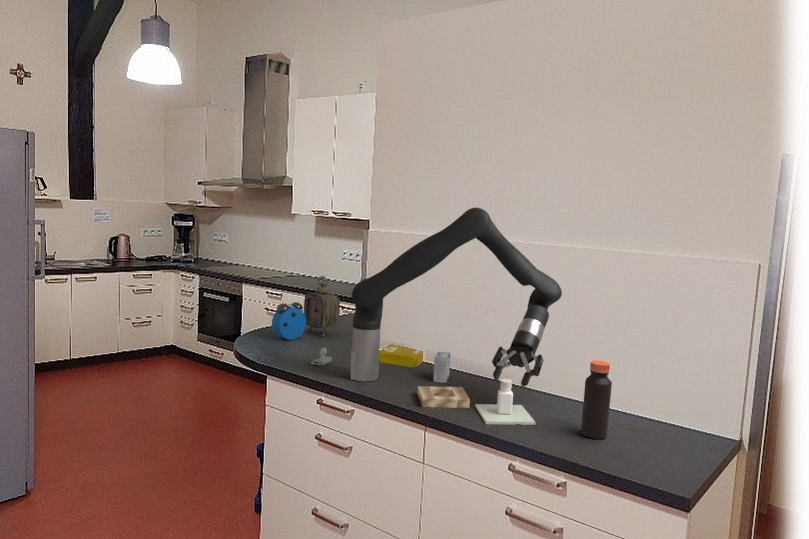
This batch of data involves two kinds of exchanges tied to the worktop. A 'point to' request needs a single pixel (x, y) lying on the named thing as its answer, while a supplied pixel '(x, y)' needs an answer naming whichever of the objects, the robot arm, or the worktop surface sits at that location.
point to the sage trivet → (504, 415)
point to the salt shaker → (505, 397)
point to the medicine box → (441, 367)
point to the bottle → (596, 401)
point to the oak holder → (443, 397)
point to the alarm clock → (289, 321)
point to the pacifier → (322, 358)
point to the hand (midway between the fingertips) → (508, 382)
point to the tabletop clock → (321, 308)
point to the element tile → (400, 356)
